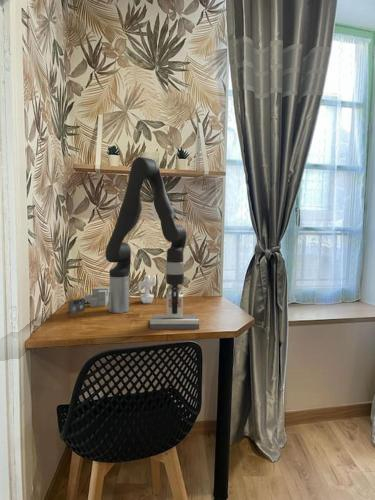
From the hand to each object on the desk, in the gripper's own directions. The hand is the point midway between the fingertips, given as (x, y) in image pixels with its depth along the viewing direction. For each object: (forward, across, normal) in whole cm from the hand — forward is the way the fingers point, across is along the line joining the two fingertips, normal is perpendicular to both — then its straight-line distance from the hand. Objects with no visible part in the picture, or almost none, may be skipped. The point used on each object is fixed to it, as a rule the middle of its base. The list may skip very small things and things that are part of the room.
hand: (174, 311), depth 133 cm
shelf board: (+5, -1, 0) cm, 5 cm away
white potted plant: (+5, +37, +15) cm, 40 cm away
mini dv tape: (+5, +18, +47) cm, 51 cm away
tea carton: (+2, 0, 0) cm, 2 cm away
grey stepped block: (+6, +34, +42) cm, 54 cm away
